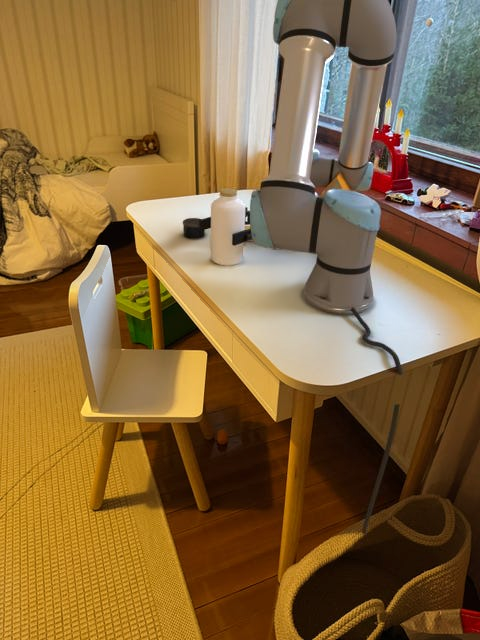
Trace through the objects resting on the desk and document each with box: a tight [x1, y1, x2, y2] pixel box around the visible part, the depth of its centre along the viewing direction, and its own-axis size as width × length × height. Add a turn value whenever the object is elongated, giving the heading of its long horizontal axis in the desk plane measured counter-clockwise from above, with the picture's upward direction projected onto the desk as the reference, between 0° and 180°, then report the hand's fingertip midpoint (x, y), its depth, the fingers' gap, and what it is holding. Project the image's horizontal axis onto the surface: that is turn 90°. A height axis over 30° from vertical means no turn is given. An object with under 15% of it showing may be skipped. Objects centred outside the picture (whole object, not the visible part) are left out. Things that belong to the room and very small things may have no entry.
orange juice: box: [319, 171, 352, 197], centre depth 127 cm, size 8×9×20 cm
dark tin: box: [182, 217, 206, 240], centre depth 135 cm, size 6×6×4 cm
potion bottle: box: [210, 187, 246, 267], centre depth 118 cm, size 8×8×18 cm
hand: (216, 232), depth 116 cm, fingers open, 11 cm apart
